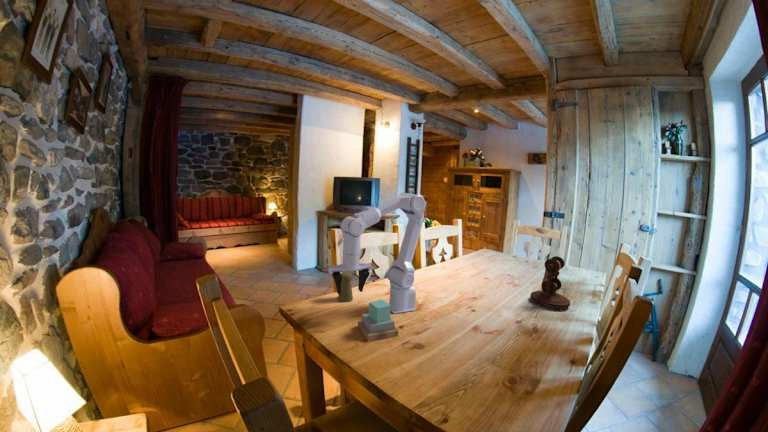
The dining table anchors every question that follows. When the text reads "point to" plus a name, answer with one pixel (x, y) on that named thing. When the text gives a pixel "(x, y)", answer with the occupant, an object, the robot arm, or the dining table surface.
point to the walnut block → (377, 333)
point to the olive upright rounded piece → (346, 288)
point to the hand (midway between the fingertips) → (349, 292)
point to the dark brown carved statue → (551, 285)
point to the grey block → (375, 327)
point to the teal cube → (379, 311)
